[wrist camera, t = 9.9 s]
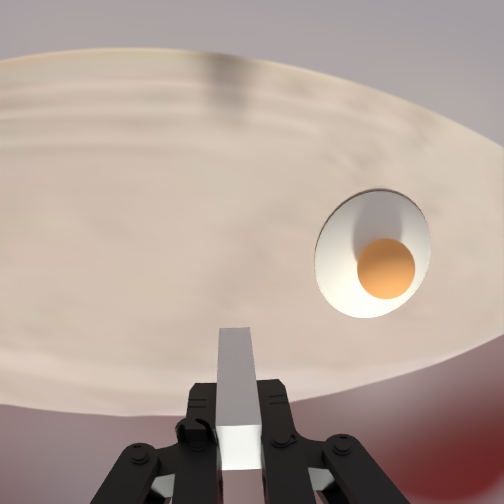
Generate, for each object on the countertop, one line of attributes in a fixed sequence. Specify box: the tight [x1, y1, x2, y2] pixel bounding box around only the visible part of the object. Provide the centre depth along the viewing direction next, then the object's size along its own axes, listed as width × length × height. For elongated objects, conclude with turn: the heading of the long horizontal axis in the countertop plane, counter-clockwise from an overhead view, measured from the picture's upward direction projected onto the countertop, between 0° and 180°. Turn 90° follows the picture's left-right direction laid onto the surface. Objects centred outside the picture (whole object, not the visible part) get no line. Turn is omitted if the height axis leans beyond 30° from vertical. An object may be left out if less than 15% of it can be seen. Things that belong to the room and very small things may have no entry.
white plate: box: [314, 191, 431, 318], centre depth 30 cm, size 13×13×1 cm
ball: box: [357, 239, 415, 299], centre depth 27 cm, size 6×6×6 cm
